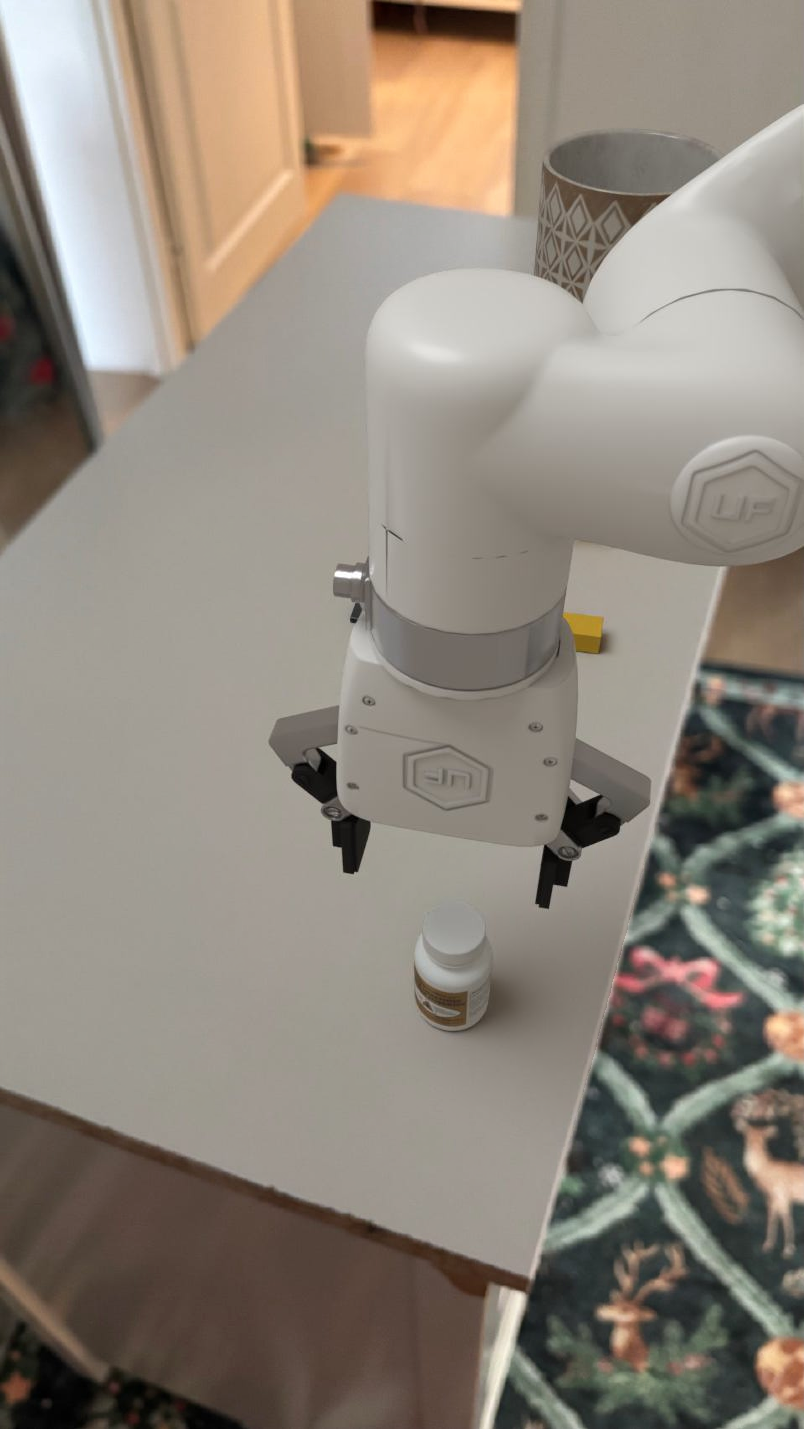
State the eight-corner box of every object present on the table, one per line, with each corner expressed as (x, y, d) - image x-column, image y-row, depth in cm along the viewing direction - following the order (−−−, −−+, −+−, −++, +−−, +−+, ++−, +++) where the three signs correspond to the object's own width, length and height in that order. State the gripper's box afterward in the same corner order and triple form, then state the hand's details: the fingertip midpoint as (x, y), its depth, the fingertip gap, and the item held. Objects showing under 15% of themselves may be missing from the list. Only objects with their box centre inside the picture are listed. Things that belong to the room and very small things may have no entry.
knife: (600, 633, 86) (603, 616, 85) (598, 655, 84) (601, 637, 83) (357, 601, 89) (356, 584, 88) (350, 622, 87) (349, 605, 86)
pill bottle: (399, 1005, 63) (397, 933, 58) (443, 953, 66) (445, 879, 60) (460, 1047, 62) (464, 977, 56) (503, 992, 64) (510, 919, 58)
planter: (554, 265, 134) (567, 120, 122) (711, 287, 129) (741, 138, 117) (511, 335, 121) (522, 181, 109) (684, 362, 116) (714, 204, 105)
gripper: (223, 639, 41) (263, 898, 53) (689, 708, 38) (617, 963, 51) (279, 523, 46) (304, 784, 58) (693, 578, 43) (627, 838, 56)
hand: (450, 867), depth 54 cm, fingers open, 9 cm apart
